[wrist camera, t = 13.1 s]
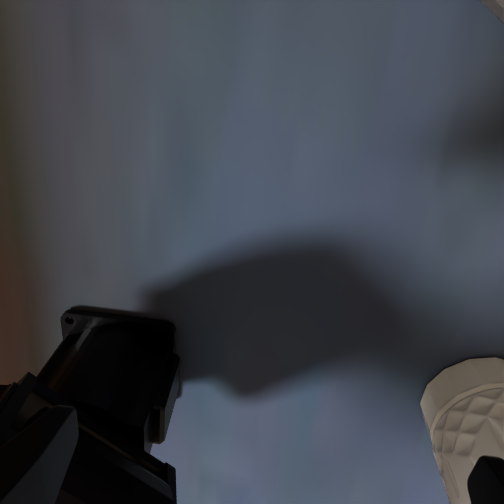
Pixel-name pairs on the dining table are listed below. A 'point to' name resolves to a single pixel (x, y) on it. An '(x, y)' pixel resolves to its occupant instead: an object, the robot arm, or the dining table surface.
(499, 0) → the port board
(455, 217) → the dining table surface
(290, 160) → the dining table surface
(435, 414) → the white cup
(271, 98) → the dining table surface
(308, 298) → the dining table surface
